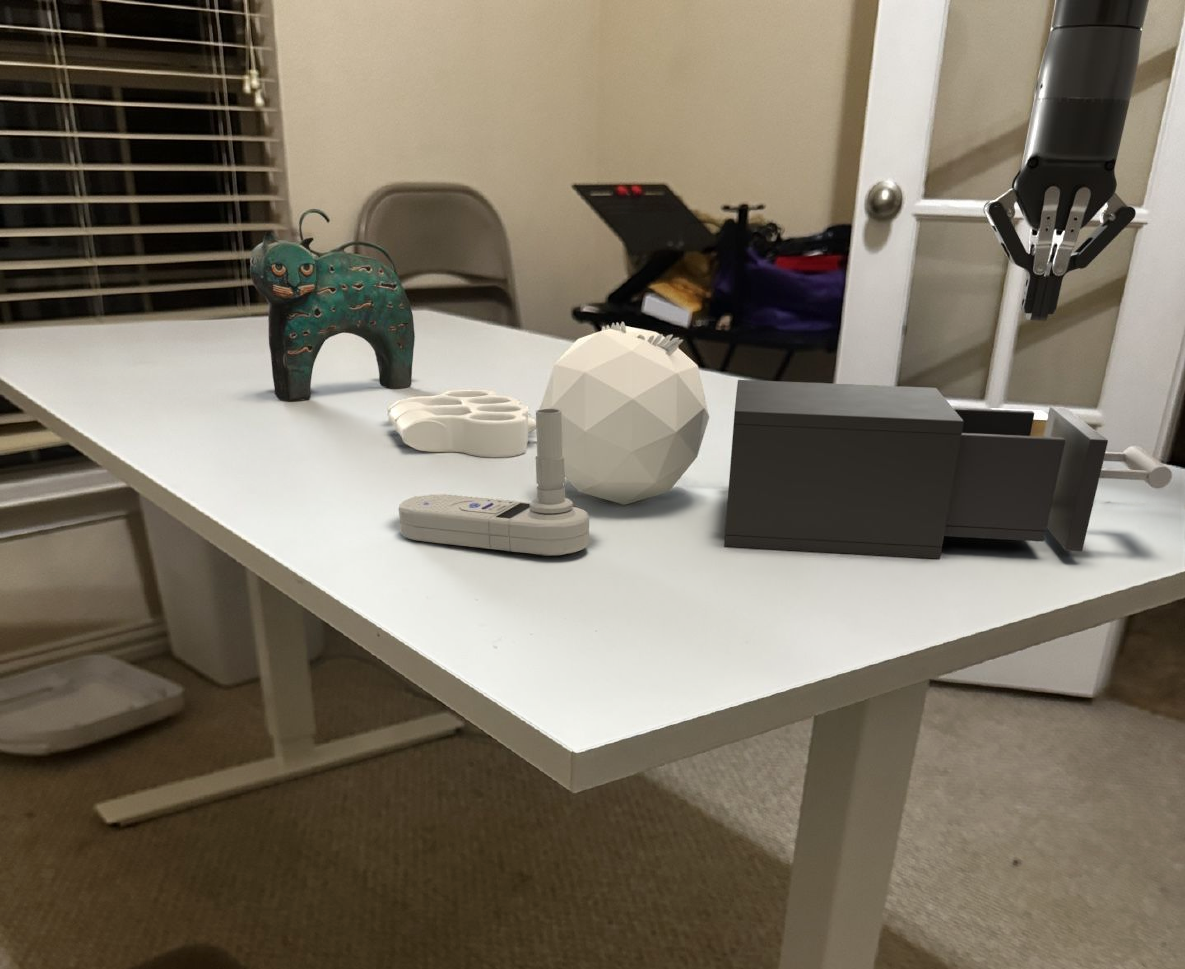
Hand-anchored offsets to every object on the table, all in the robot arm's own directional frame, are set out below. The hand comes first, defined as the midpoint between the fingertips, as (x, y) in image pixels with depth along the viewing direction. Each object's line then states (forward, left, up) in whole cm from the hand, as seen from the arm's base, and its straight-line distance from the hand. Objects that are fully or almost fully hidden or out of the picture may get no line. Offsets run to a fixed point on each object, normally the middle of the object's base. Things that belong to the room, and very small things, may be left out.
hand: (1035, 319), depth 102 cm
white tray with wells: (+53, -2, -14) cm, 55 cm away
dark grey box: (+18, +24, -13) cm, 33 cm away
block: (-1, -1, -13) cm, 13 cm away
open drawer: (+5, +24, -12) cm, 28 cm away
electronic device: (+43, +33, -14) cm, 56 cm away
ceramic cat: (+74, -25, -14) cm, 80 cm away
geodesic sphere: (+35, +18, -14) cm, 42 cm away
